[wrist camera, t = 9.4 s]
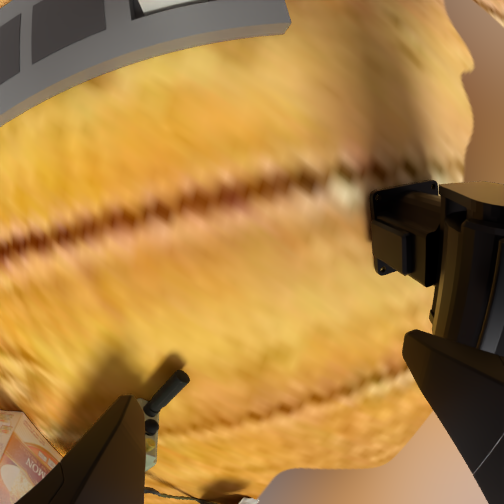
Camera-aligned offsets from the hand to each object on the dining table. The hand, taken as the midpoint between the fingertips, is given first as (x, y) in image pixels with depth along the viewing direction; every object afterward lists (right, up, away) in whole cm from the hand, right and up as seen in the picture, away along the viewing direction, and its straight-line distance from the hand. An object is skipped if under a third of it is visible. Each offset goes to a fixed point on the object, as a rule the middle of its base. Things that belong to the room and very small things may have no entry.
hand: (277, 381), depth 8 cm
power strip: (-16, +19, +4) cm, 25 cm away
